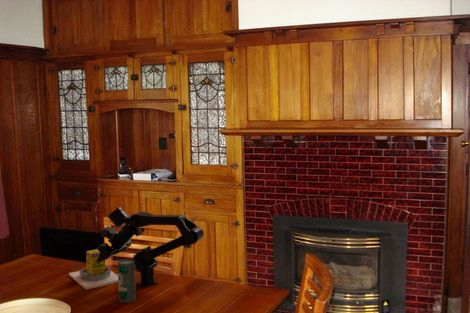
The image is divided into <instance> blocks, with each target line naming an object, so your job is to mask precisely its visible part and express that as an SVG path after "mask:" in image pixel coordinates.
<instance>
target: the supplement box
mask: <svg viewBox="0 0 470 313" xmlns="http://www.w3.org/2000/svg"><path fill="white" fill-rule="evenodd" d="M99 254H100V252H99V251H98V250H97V248H96V249H92V250H86V251H85V257H86V258H85V259H86V262H85V263H86V264H85V265H86V268H87V274H100V273H104V272H105V266H106V265H105V260H104V261H102V262H100V263H97V259H98V256H99Z"/></svg>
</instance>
